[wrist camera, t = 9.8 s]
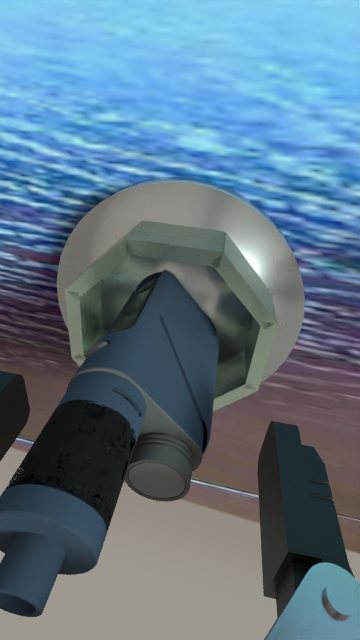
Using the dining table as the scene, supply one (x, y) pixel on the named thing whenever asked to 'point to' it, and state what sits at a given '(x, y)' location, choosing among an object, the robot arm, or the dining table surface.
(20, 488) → the vaping device
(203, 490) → the dining table surface
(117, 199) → the ring seat
